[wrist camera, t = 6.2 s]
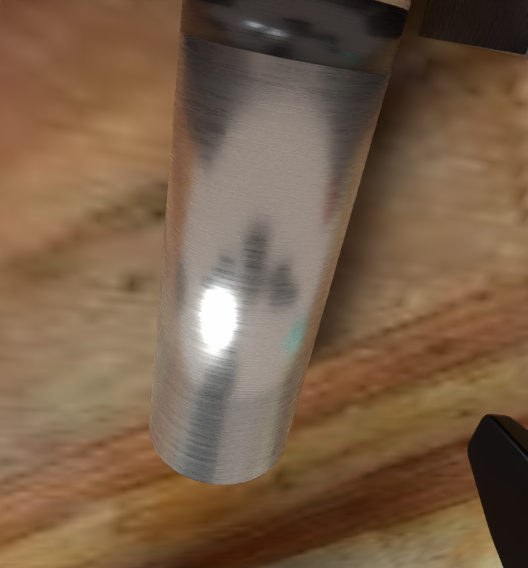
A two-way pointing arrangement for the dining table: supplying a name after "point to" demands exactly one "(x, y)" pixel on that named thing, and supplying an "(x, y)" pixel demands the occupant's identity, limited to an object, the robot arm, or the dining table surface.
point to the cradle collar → (479, 24)
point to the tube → (258, 215)
